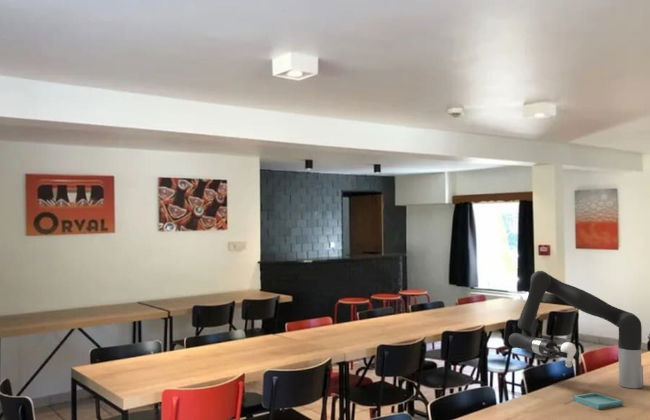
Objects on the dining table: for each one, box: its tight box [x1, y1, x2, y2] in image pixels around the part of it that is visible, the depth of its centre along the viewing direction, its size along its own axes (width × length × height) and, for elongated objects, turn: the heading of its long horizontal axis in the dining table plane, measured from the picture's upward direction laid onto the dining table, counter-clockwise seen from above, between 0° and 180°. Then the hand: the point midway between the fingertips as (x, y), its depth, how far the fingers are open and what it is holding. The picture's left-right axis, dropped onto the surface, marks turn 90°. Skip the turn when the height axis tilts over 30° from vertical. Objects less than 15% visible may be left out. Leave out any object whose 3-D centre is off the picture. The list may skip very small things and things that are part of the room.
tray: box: [572, 392, 623, 410], centre depth 233 cm, size 13×13×2 cm
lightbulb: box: [560, 341, 577, 368], centre depth 247 cm, size 6×6×11 cm
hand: (572, 354), depth 245 cm, fingers closed on lightbulb, 6 cm apart
